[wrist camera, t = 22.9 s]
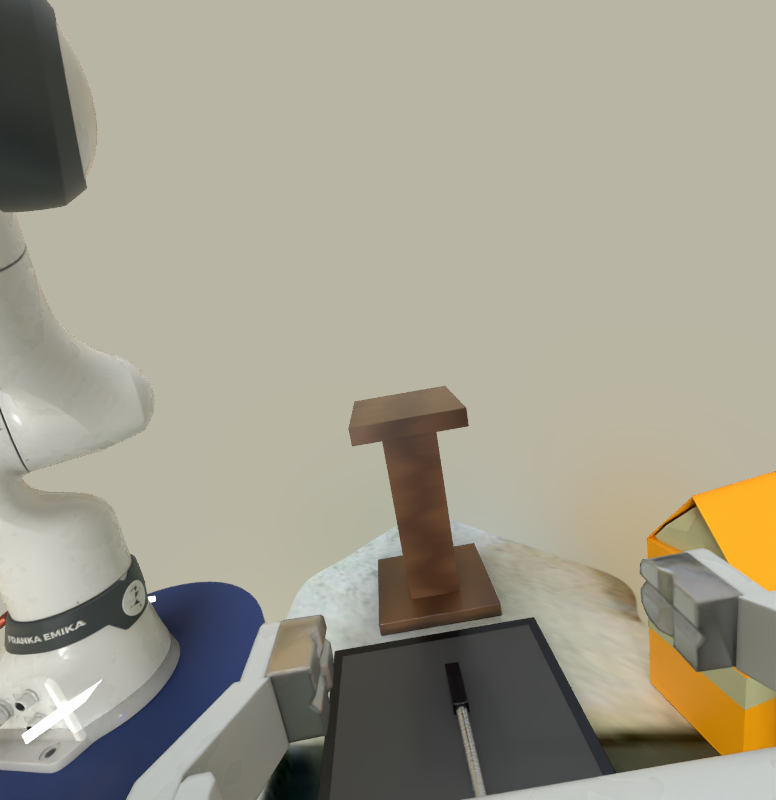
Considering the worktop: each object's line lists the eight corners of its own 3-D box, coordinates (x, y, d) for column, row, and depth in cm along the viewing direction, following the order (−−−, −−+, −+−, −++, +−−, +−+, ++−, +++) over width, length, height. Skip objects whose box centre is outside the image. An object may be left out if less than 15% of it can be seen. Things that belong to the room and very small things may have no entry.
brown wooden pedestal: (381, 635, 44) (338, 429, 39) (379, 568, 56) (346, 402, 51) (501, 615, 44) (476, 405, 39) (475, 552, 56) (452, 384, 51)
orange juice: (839, 734, 29) (868, 487, 24) (743, 779, 27) (755, 524, 23) (728, 649, 36) (734, 449, 32) (647, 680, 35) (642, 474, 30)
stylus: (497, 932, 22) (495, 918, 21) (445, 673, 37) (444, 663, 37) (522, 928, 22) (520, 914, 21) (460, 671, 37) (458, 661, 37)
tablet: (304, 951, 23) (300, 938, 23) (336, 658, 42) (334, 650, 42) (671, 889, 23) (671, 876, 23) (534, 624, 42) (533, 615, 42)
